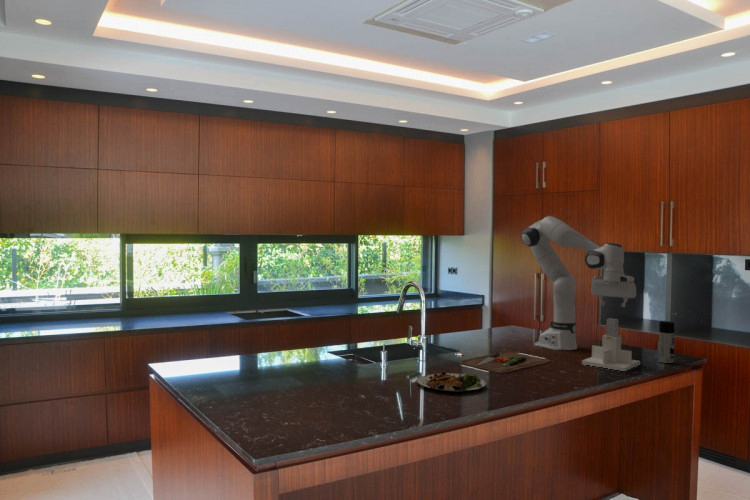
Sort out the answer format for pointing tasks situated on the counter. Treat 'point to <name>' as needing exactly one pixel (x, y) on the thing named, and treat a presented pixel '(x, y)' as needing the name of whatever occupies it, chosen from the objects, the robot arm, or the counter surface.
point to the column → (612, 327)
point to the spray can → (666, 342)
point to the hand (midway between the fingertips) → (612, 306)
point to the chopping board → (503, 362)
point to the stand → (611, 355)
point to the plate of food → (452, 381)
